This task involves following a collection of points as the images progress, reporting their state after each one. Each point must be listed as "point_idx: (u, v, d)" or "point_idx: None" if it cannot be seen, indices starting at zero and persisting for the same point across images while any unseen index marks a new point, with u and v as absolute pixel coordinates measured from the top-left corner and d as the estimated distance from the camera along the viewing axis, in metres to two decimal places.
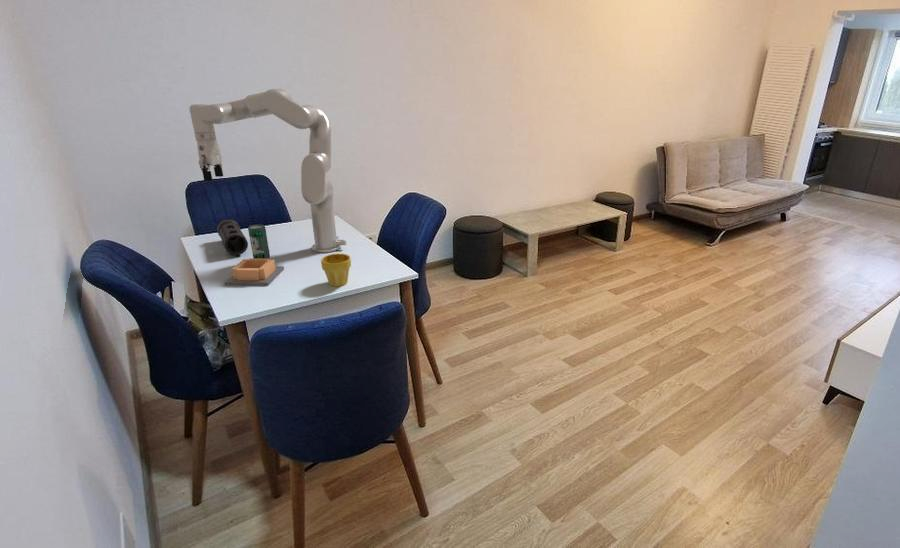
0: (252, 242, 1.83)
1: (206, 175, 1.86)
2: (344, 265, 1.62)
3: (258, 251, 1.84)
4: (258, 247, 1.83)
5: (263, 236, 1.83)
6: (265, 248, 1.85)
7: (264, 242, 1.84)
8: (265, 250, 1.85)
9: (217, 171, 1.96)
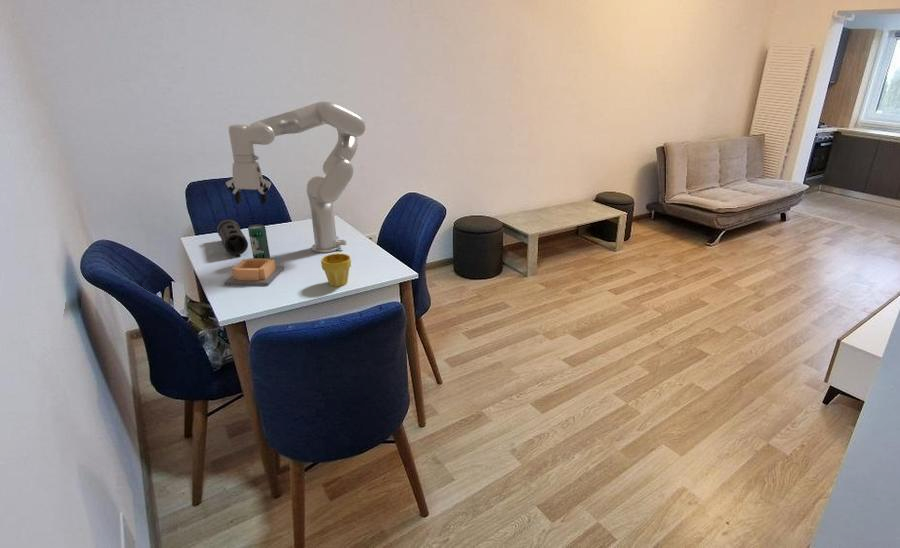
0: (252, 242, 1.83)
1: (265, 197, 1.78)
2: (344, 265, 1.62)
3: (258, 251, 1.84)
4: (258, 247, 1.83)
5: (263, 236, 1.83)
6: (265, 248, 1.85)
7: (264, 242, 1.84)
8: (265, 250, 1.85)
9: (239, 198, 1.78)
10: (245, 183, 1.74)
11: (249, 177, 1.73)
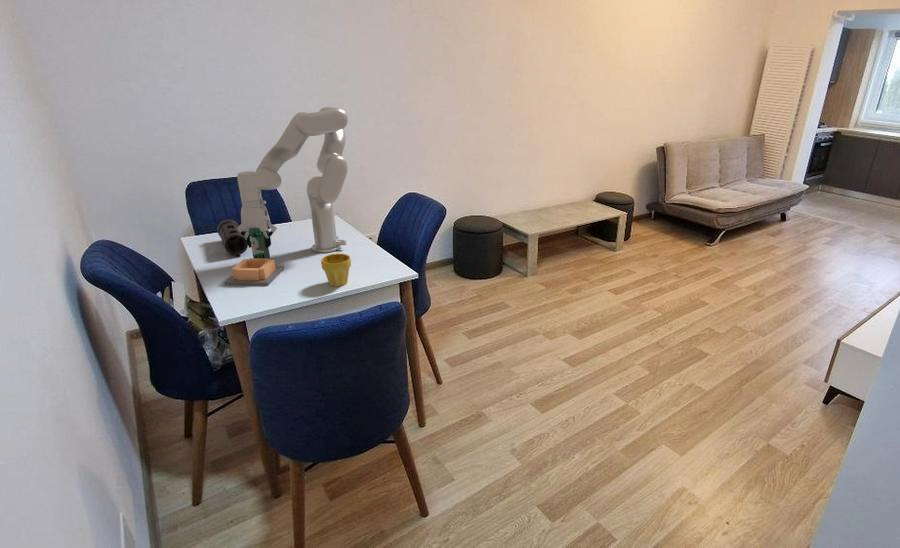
0: (252, 242, 1.83)
1: (270, 241, 1.85)
2: (344, 265, 1.62)
3: (258, 251, 1.84)
4: (258, 247, 1.83)
5: (263, 236, 1.83)
6: (265, 248, 1.85)
7: (264, 242, 1.84)
8: (265, 250, 1.85)
9: None
10: (253, 226, 1.81)
11: (257, 221, 1.80)
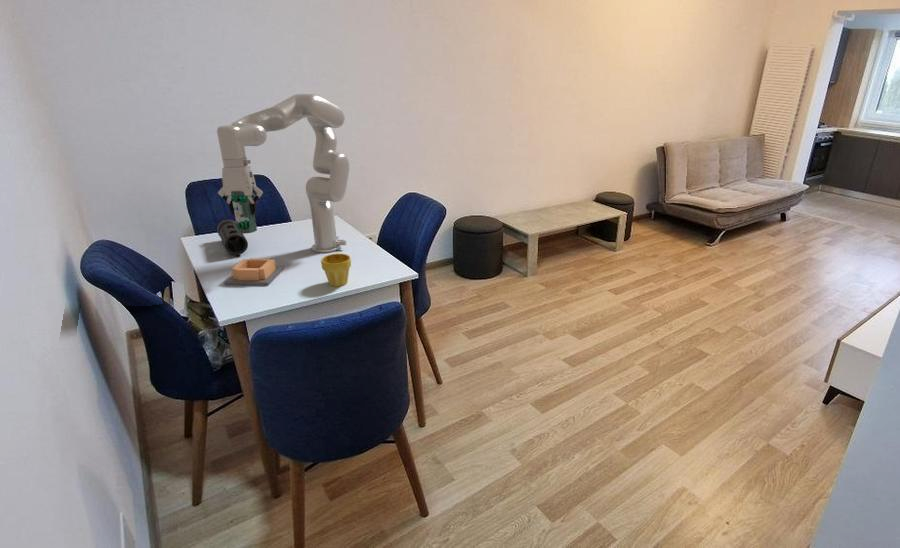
0: (235, 208, 1.61)
1: (255, 207, 1.63)
2: (344, 265, 1.62)
3: (242, 218, 1.62)
4: (242, 213, 1.61)
5: (248, 201, 1.61)
6: (250, 215, 1.63)
7: (249, 208, 1.62)
8: (250, 217, 1.64)
9: None
10: (237, 190, 1.59)
11: (241, 183, 1.58)
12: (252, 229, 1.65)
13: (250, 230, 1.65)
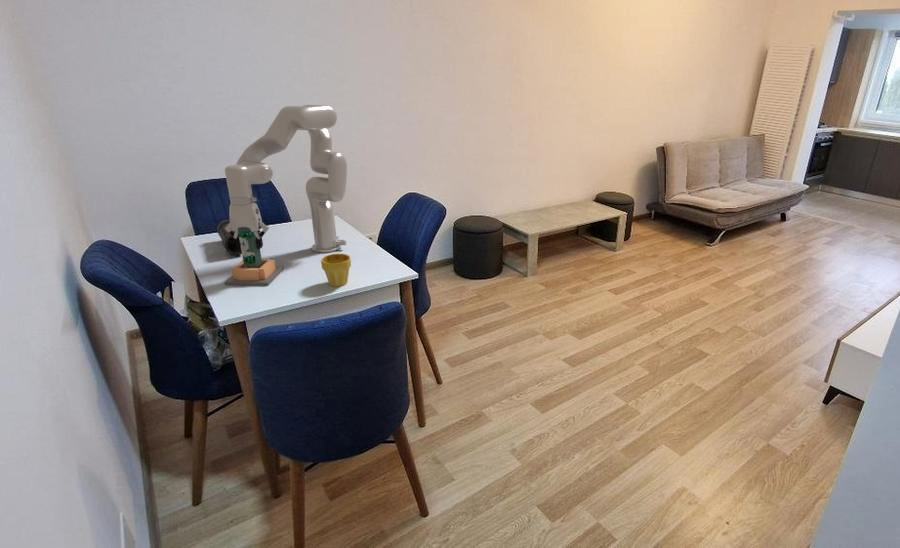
0: (242, 243, 1.66)
1: (261, 241, 1.68)
2: (344, 265, 1.62)
3: (248, 253, 1.67)
4: (248, 249, 1.66)
5: (254, 236, 1.66)
6: (256, 250, 1.68)
7: (255, 243, 1.67)
8: (256, 252, 1.68)
9: None
10: (243, 226, 1.64)
11: (247, 220, 1.63)
12: (258, 263, 1.70)
13: (256, 264, 1.69)
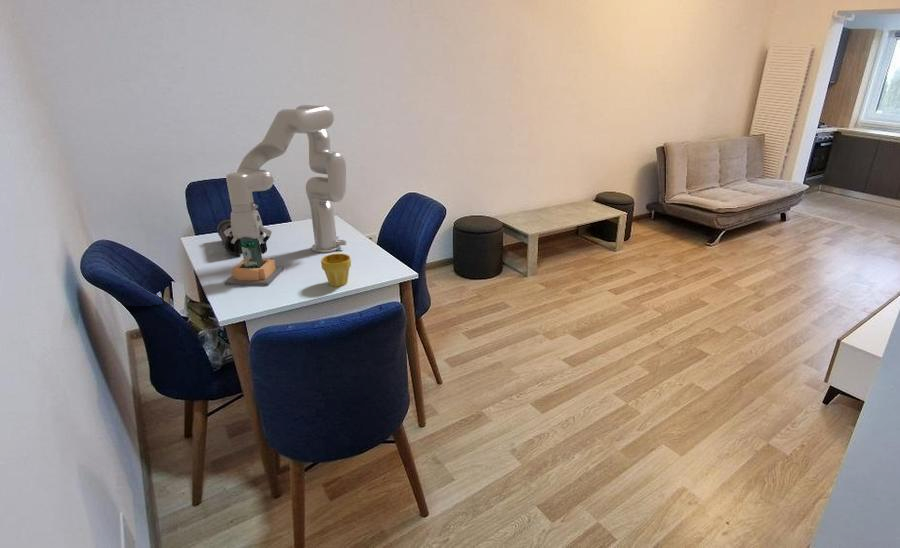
0: (244, 253, 1.68)
1: (265, 246, 1.69)
2: (344, 265, 1.62)
3: (251, 262, 1.69)
4: (251, 258, 1.68)
5: (256, 246, 1.68)
6: (258, 259, 1.70)
7: (257, 253, 1.69)
8: (258, 261, 1.70)
9: (238, 247, 1.69)
10: (244, 233, 1.65)
11: (249, 227, 1.64)
12: None
13: None
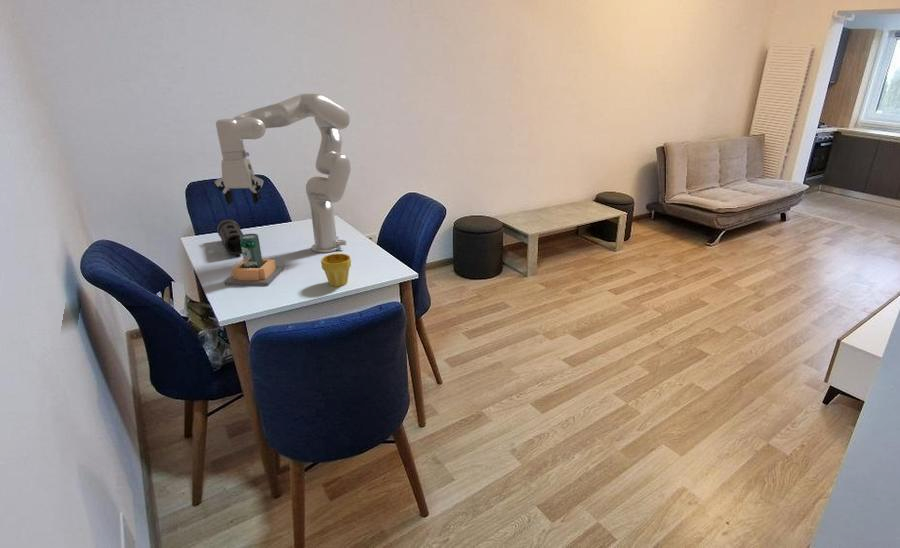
0: (244, 253, 1.68)
1: (258, 196, 1.67)
2: (344, 265, 1.62)
3: (251, 262, 1.69)
4: (250, 258, 1.68)
5: (256, 246, 1.68)
6: (258, 259, 1.70)
7: (257, 253, 1.69)
8: (258, 261, 1.70)
9: (230, 197, 1.67)
10: (236, 182, 1.63)
11: (240, 175, 1.62)
12: None
13: None
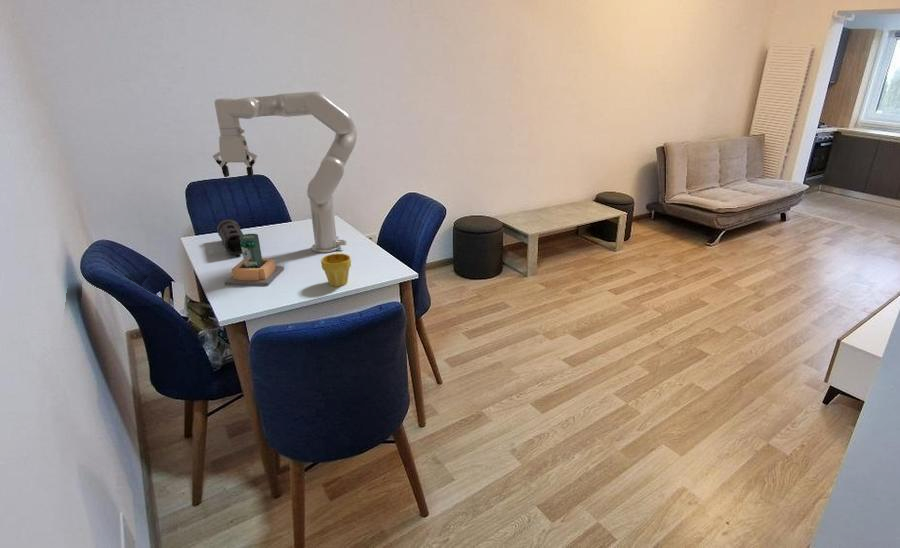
0: (244, 253, 1.68)
1: (252, 170, 1.83)
2: (344, 265, 1.62)
3: (251, 262, 1.69)
4: (250, 258, 1.68)
5: (256, 246, 1.68)
6: (258, 259, 1.70)
7: (257, 253, 1.69)
8: (258, 261, 1.70)
9: (226, 171, 1.84)
10: (232, 156, 1.79)
11: (236, 150, 1.78)
12: None
13: None
